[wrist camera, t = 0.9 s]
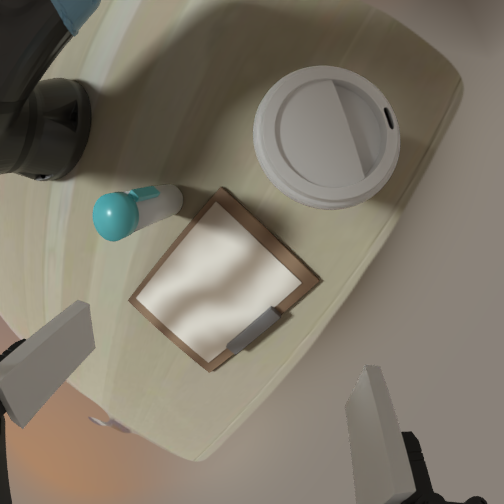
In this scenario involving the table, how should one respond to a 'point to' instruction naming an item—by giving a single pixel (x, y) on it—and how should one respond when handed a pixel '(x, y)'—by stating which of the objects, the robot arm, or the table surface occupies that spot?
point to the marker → (134, 210)
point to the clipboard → (221, 283)
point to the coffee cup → (326, 137)
